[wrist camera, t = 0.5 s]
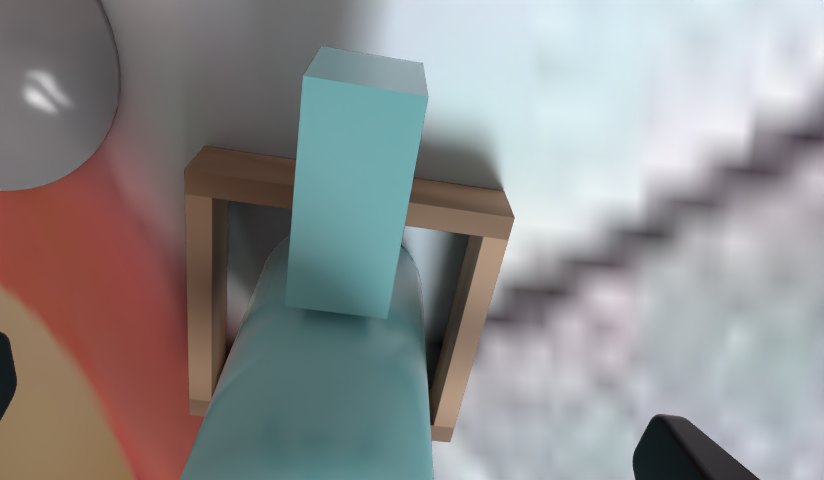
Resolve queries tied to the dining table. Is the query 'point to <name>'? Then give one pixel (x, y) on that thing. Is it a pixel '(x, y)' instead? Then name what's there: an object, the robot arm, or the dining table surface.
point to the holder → (274, 186)
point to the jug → (334, 300)
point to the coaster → (54, 88)
